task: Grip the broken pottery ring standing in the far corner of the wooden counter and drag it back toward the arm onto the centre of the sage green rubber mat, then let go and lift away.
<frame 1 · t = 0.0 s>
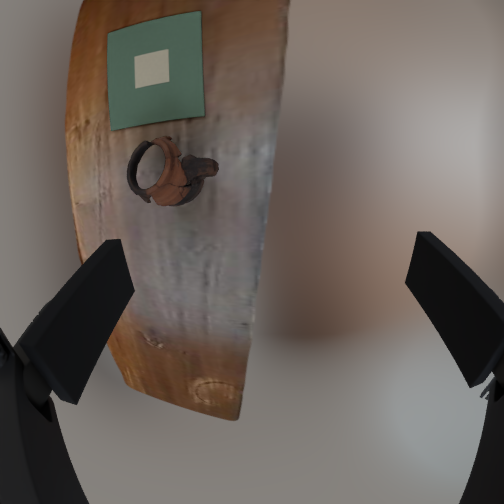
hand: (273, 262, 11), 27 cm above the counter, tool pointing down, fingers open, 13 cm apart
broken pottery ring: (180, 168, 36), on the counter
centre mat: (152, 68, 29), on the counter
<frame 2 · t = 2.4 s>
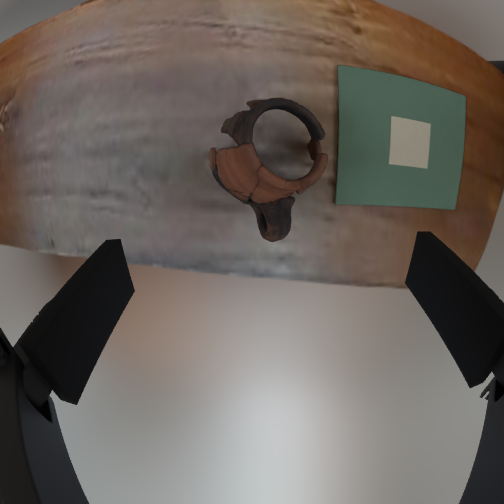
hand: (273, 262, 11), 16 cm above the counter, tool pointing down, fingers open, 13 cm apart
broken pottery ring: (264, 163, 25), on the counter
centre mat: (409, 142, 23), on the counter
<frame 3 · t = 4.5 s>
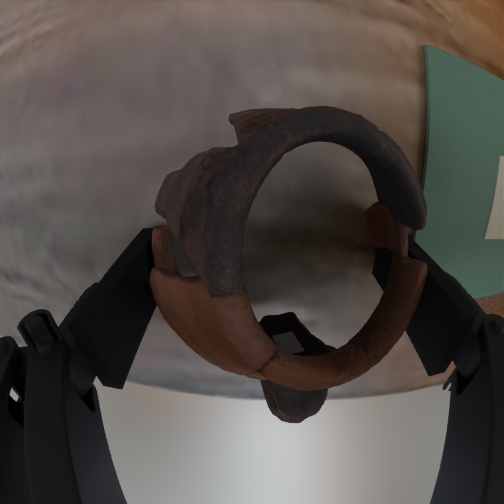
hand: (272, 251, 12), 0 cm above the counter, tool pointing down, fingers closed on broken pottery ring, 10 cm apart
broken pottery ring: (273, 246, 13), on the counter, touching gripper
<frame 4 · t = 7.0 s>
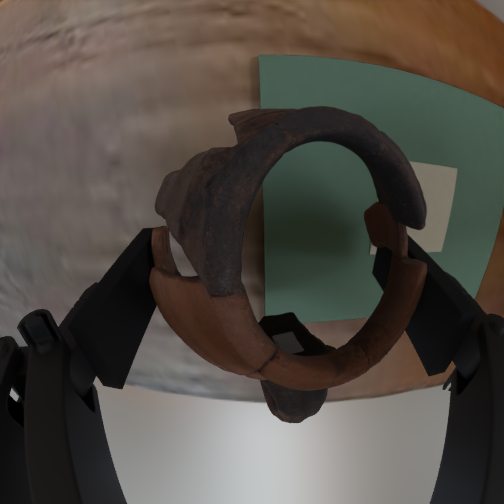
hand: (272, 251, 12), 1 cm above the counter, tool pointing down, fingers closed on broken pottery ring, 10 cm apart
broken pottery ring: (273, 246, 13), point 1 cm above the counter, touching gripper
centre mat: (413, 207, 13), on the counter
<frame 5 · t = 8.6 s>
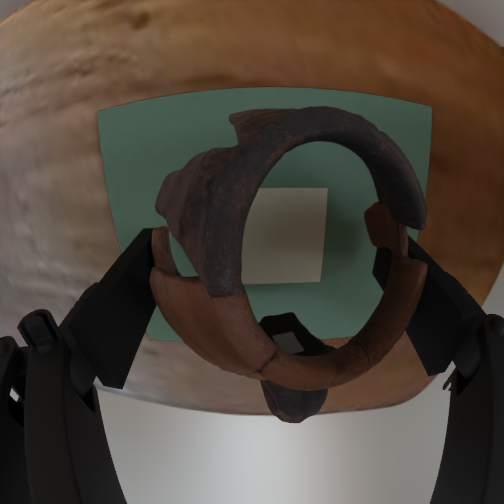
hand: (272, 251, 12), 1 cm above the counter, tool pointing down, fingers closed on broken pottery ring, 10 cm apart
broken pottery ring: (273, 246, 13), point 1 cm above the counter, touching gripper
centre mat: (272, 236, 13), on the counter
when the fingers open (1 cm above the counter, at t = 9.6 s): broken pottery ring stays where it is, resting on centre mat.
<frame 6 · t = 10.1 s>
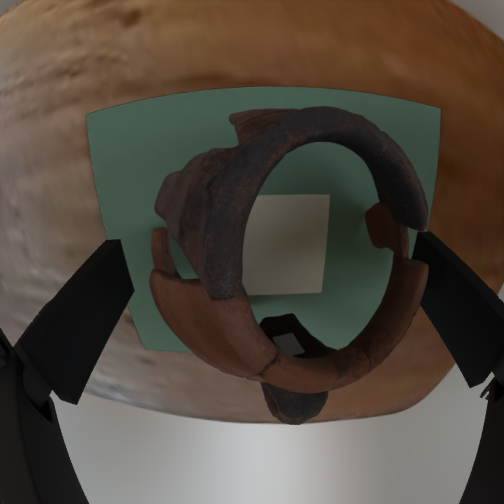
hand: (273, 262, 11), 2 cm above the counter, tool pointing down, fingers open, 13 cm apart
broken pottery ring: (273, 247, 13), resting on centre mat
centre mat: (271, 245, 13), on the counter
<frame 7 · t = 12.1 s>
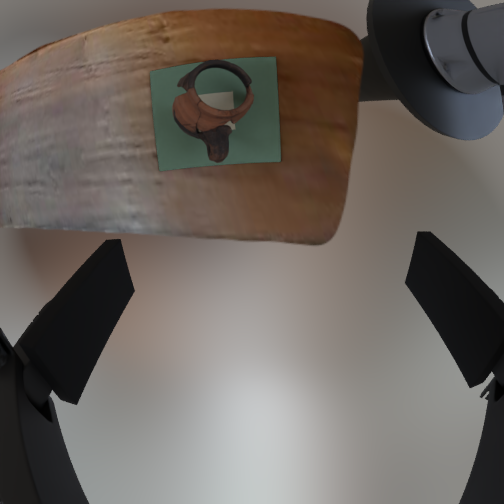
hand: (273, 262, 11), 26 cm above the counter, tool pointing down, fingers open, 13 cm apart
broken pottery ring: (214, 112, 31), resting on centre mat
centre mat: (214, 112, 31), on the counter
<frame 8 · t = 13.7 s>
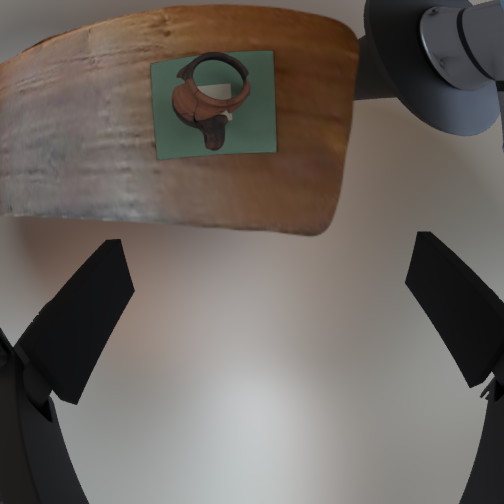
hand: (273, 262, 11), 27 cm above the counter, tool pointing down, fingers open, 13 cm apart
broken pottery ring: (212, 103, 31), resting on centre mat
centre mat: (212, 103, 31), on the counter
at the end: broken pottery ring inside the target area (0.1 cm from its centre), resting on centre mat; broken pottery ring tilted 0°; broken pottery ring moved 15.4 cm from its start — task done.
